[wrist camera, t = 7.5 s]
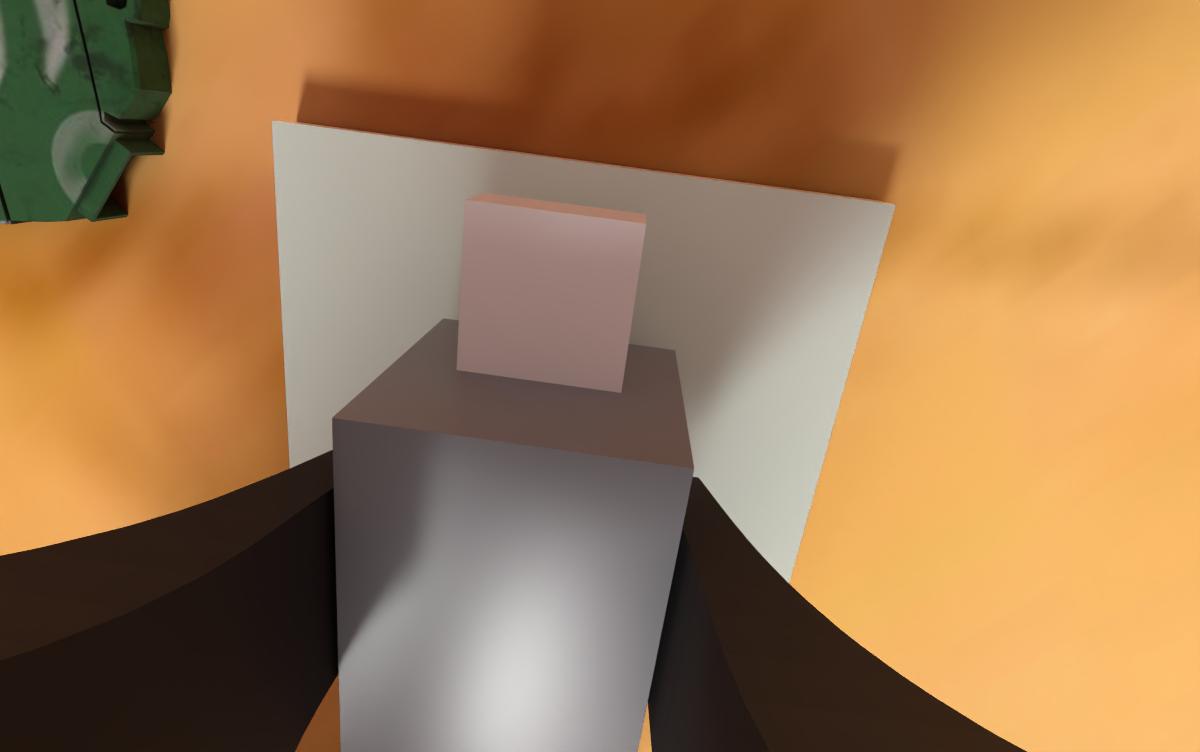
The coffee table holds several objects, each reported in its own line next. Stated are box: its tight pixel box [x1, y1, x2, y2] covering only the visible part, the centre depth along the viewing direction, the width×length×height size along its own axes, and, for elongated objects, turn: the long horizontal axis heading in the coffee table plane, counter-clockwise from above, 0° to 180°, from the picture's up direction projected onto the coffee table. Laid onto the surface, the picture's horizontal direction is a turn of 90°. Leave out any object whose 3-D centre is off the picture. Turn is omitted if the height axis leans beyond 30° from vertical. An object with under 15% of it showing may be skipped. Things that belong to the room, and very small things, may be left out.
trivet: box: [272, 120, 895, 583], centre depth 13 cm, size 11×11×1 cm
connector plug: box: [332, 193, 694, 752], centre depth 10 cm, size 8×4×4 cm, turn 173°
